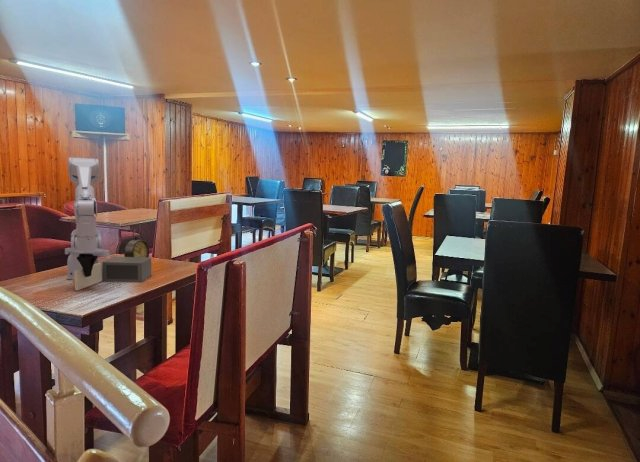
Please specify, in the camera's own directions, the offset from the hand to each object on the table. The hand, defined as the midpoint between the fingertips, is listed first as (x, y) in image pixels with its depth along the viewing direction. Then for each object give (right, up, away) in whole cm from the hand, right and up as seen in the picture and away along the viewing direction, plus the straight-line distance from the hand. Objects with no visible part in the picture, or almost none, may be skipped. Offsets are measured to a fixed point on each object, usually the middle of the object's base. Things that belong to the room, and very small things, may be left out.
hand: (88, 276), depth 142 cm
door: (-2, -3, +3) cm, 5 cm away
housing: (+6, -2, +16) cm, 17 cm away
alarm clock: (+3, 0, +31) cm, 32 cm away
